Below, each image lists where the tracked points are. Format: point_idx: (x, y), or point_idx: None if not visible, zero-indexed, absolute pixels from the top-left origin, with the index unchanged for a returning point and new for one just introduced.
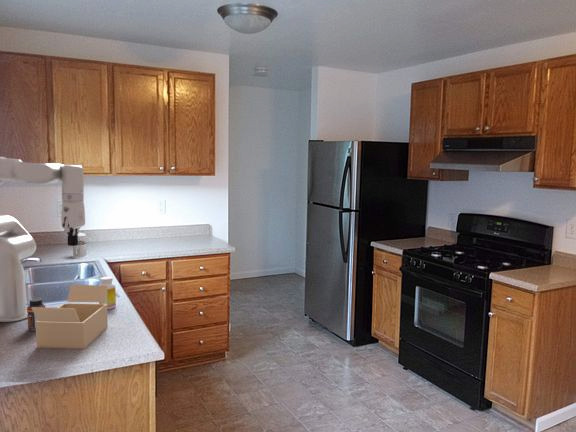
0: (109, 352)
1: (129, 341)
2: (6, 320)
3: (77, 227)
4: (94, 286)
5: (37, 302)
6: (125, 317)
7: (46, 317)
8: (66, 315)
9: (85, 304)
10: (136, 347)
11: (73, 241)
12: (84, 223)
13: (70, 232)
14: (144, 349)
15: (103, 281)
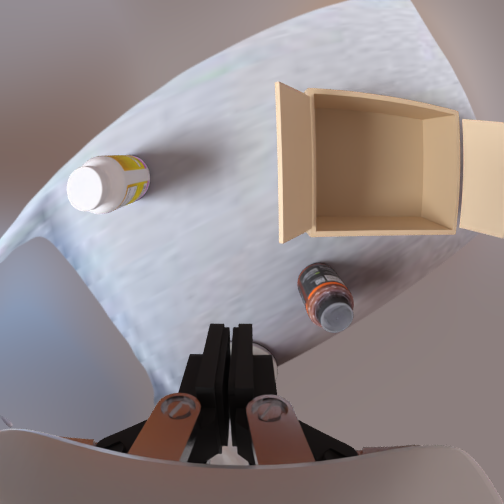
0: (429, 65)
1: (375, 34)
2: (276, 366)
3: (324, 463)
4: (284, 136)
5: (348, 304)
6: (210, 86)
7: (475, 203)
8: (485, 148)
9: (315, 160)
10: (399, 20)
11: (260, 363)
12: (6, 445)
13: (340, 446)
14: (404, 7)
15: (106, 189)
